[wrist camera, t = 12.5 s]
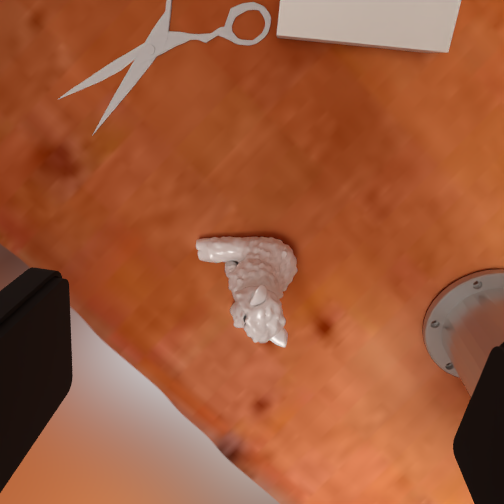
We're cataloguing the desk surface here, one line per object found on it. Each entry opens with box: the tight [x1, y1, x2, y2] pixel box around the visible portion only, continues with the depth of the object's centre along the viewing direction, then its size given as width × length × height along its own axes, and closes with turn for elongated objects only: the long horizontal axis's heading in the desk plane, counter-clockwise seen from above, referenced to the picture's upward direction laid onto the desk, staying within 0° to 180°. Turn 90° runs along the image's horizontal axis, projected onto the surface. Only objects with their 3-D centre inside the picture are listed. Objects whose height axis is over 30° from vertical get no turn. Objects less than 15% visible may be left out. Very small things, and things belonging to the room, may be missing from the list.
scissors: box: [59, 0, 271, 134], centre depth 37 cm, size 11×1×20 cm
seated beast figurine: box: [196, 236, 298, 347], centre depth 38 cm, size 10×9×12 cm
